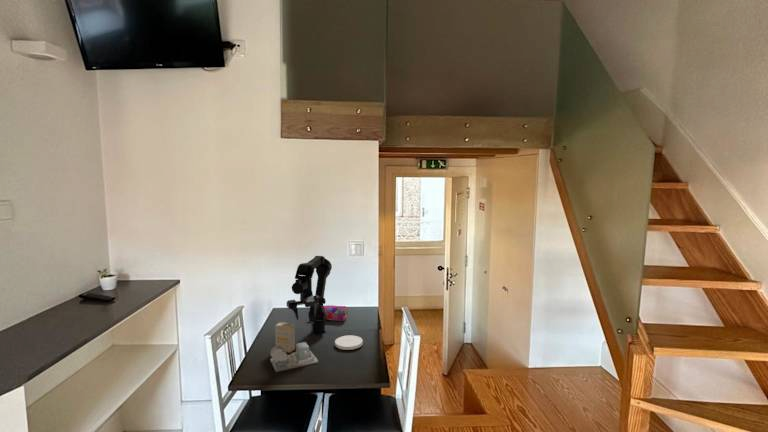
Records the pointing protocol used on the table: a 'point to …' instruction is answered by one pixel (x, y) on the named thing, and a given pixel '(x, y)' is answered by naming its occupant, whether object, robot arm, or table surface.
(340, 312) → the pencil case
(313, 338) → the table surface
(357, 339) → the plastic lid
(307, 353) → the grey block with cylinder
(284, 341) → the supplement box
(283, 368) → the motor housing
